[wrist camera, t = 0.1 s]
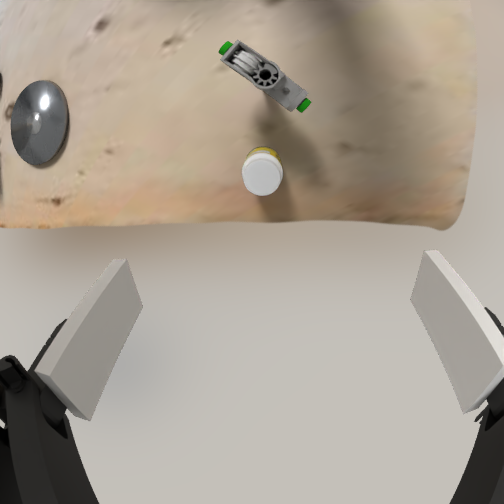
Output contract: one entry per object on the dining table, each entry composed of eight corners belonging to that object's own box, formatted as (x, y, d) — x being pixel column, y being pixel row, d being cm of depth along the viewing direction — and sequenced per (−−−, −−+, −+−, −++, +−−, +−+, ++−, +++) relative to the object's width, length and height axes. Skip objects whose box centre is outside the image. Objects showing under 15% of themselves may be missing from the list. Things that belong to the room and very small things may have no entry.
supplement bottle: (282, 178, 37) (285, 198, 30) (247, 181, 38) (241, 201, 31) (279, 144, 35) (282, 155, 28) (243, 147, 35) (237, 158, 28)
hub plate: (11, 97, 30) (7, 98, 29) (65, 67, 29) (60, 67, 28) (22, 170, 37) (17, 172, 36) (74, 152, 36) (70, 154, 35)
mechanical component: (290, 114, 33) (297, 118, 24) (227, 68, 30) (212, 56, 21) (304, 98, 32) (317, 96, 23) (241, 52, 29) (231, 34, 20)
